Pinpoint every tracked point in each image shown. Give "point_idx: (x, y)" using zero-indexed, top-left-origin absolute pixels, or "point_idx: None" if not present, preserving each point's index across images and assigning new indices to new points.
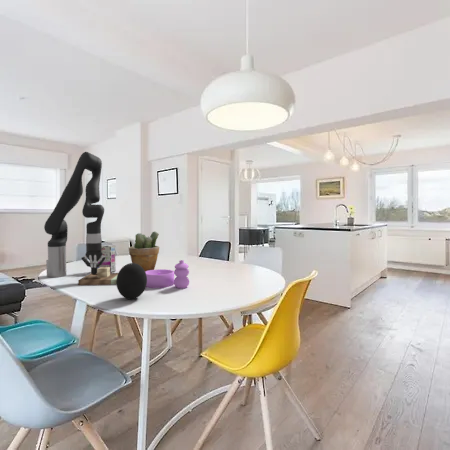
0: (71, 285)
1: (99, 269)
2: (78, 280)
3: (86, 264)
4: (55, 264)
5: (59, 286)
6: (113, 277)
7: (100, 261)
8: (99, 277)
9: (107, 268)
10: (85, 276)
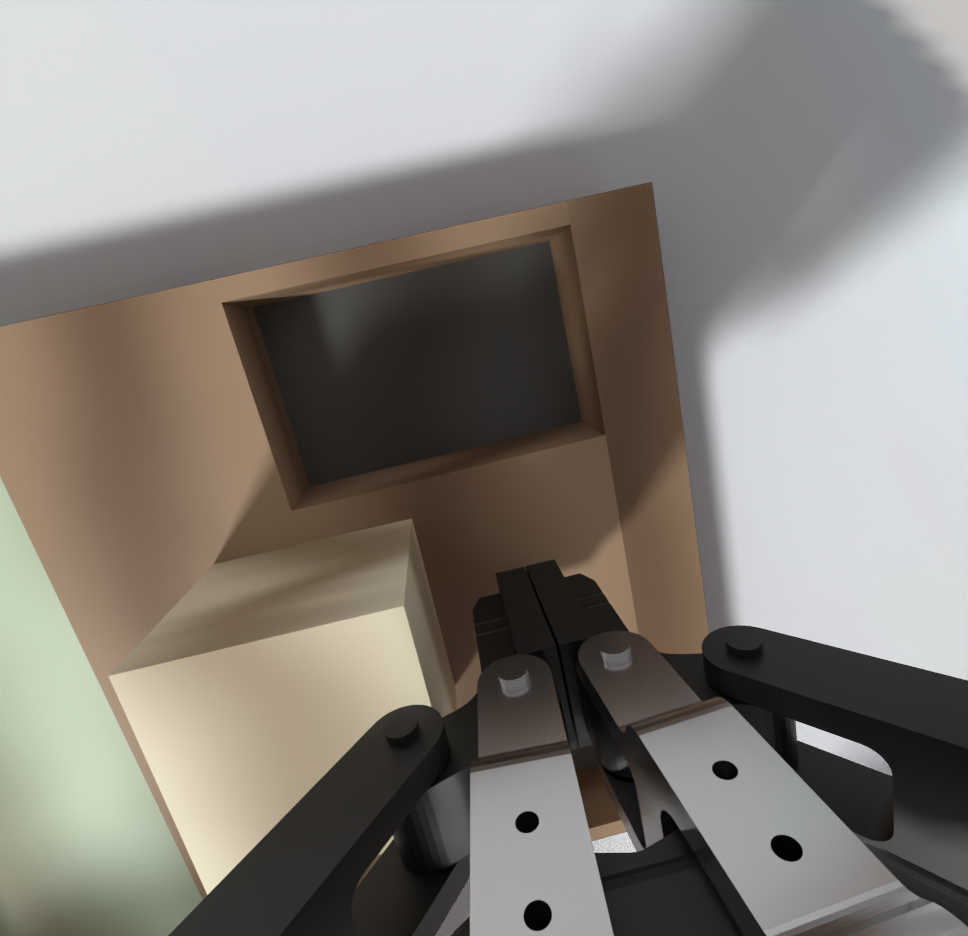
0: (725, 168)
1: (342, 609)
2: (645, 183)
3: (828, 653)
4: None
5: (897, 60)
6: (49, 559)
7: (300, 897)
8: (357, 508)
9: (125, 712)
10: (693, 547)
